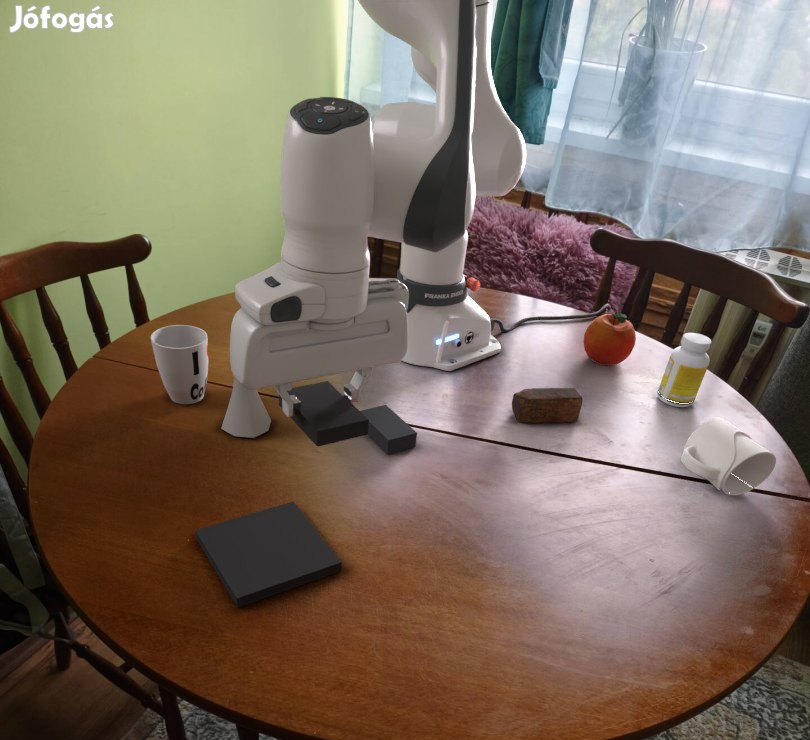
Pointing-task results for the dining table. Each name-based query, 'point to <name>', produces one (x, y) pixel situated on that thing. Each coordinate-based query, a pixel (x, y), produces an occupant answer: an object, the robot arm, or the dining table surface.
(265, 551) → the base pad
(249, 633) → the dining table surface
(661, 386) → the pill bottle
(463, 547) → the dining table surface
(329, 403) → the medium pad
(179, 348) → the cup
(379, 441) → the top pad
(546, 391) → the brick
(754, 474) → the mug
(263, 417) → the flask
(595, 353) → the fruit
